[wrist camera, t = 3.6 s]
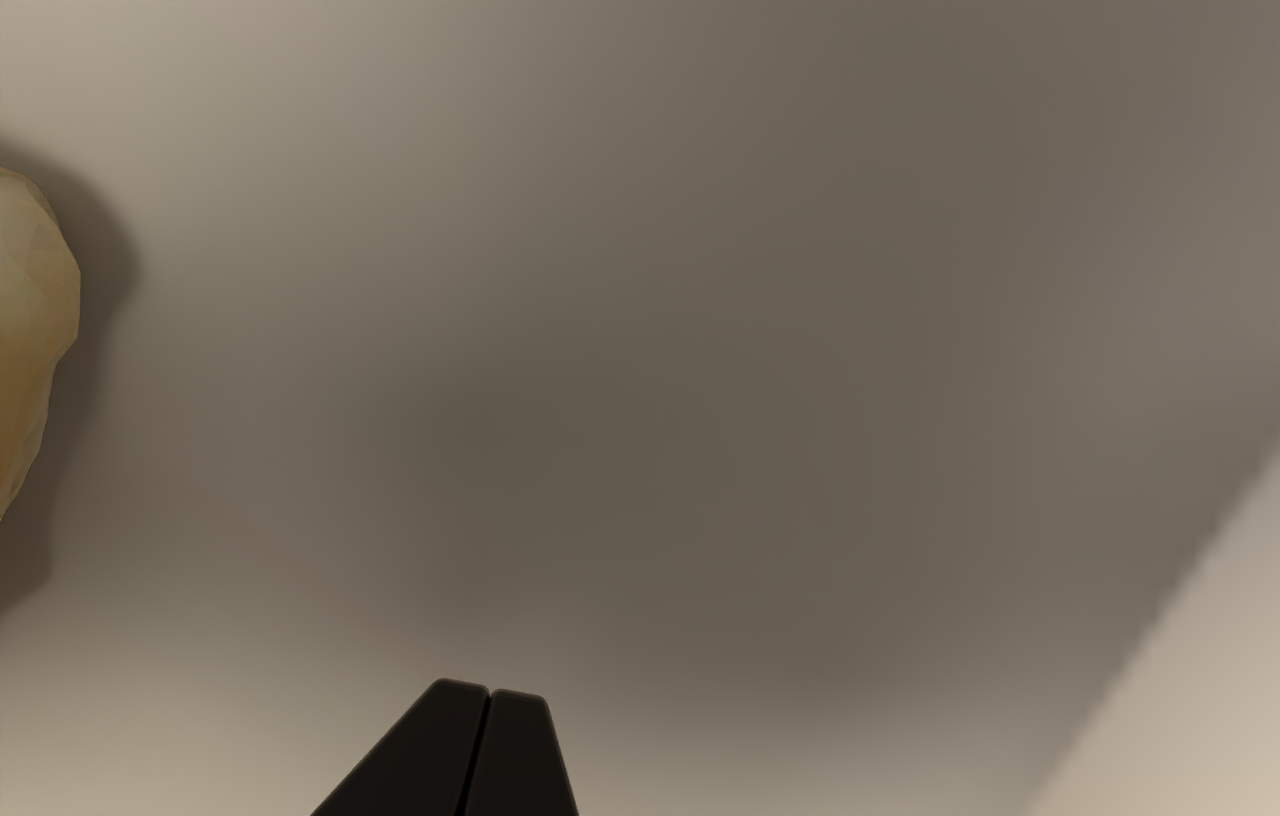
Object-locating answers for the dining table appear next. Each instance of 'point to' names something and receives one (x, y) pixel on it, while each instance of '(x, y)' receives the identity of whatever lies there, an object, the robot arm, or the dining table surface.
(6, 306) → the pastry
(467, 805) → the robot arm
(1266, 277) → the dining table surface
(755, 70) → the dining table surface
